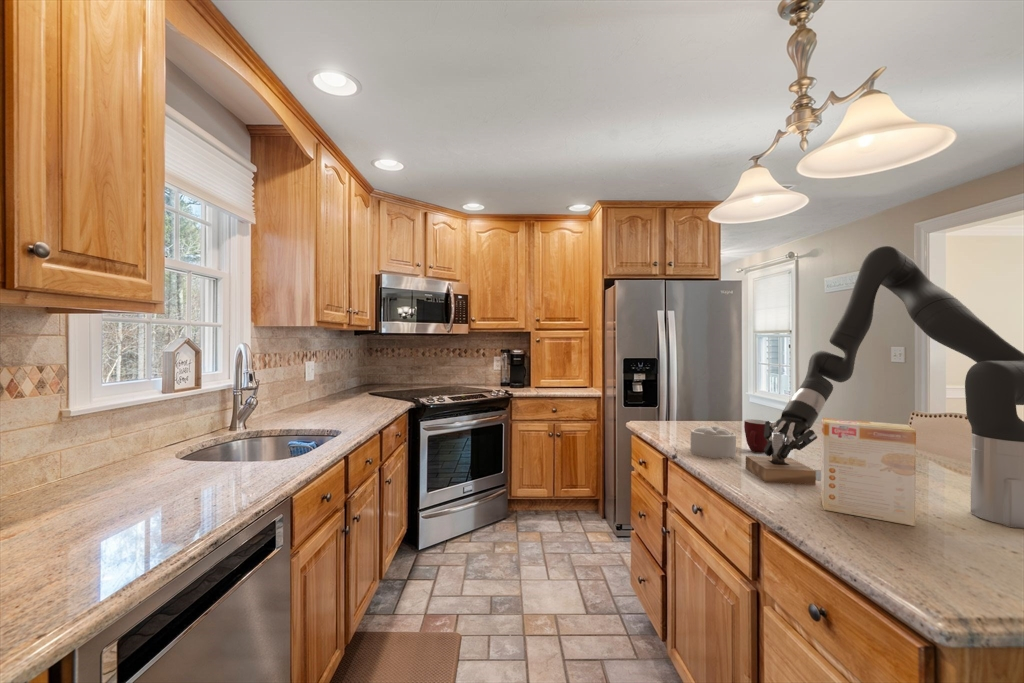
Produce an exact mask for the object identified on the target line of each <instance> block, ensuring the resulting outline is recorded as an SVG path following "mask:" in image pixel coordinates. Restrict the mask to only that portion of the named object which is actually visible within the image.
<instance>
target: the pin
mask: <svg viewBox="0 0 1024 683" xmlns="http://www.w3.org/2000/svg"><path fill="white" fill-rule="evenodd" d="M785 441H786V438H785V433H781V432H772V455H771V457H772V464H774V465H785V459H784V460H780V459H779V458H778V457H777V453H778V452H779V450H780V448H781V447H782V445H783V444H784V445H785Z"/></svg>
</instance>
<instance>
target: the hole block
mask: <svg viewBox="0 0 1024 683" xmlns="http://www.w3.org/2000/svg"><path fill="white" fill-rule="evenodd" d="M745 469H746V470H747V471H748V472H750V473H751V474H753V475H754V476H756V477H757V478H758V479H759V480H761V481H763V483H769V484H785V485H787V484H788V485H790V484H791V485H807V486H816V484H817V483H816V482H817V480H816V471H815V470H816V469H813V468H812V467H809V466H808V465H805V464H803V463H802V462H800V461H798V460H796V459H794V458H792V457H787V458H785V465H774V464H772V456H760V455H758V456H757V455H745Z"/></svg>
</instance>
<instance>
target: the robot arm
mask: <svg viewBox="0 0 1024 683" xmlns="http://www.w3.org/2000/svg"><path fill="white" fill-rule="evenodd" d="M880 286H883V287H884V288H886V289H887V290H889V291H890V292H892V293H893V295H895V296H896V297H897V298H899V299H900V300H901V301H902V303H903V304H904V307H905V308H906V311H907V314H908V315H909V317H910V318H911V320H912V321H913V322H914V323H915V324H916V325H917V326H918V328H920V329H921V331H922V332H924V334H926V335H927V336H928V337H929V338H930V339H932V340H933V341H935V342H937V343H939V344H940V345H942V346H945V347H946V348H948V349H951V350H953V351H955V352H958V353H959V354H962V355H964V356H965V357H967V358H969V359H971V360H972V361H974V364H973V365H972V366H971V367H970V368H969V369H968V371H967V372H966V375H965V378H964V397H965V412H966V418H967V420H968V423H969V424H970V428H971V445H970V446H971V447H970V448H971V449H970V450H971V451H970V453H971V454H970V458H971V459H970V514H972V515H974V516H976V517H978V518H981V519H983V520H986V521H989V522H993V523H995V524H996V523H997V524H1000V525H1004V526H1006V527H1010V528H1020V529H1024V420H1022V419H1021V418H1020V417H1019V415H1018V411H1017V406H1024V353H1023V352H1022V351H1021V350H1019V349H1018V348H1017V347H1015V346H1013V345H1012V344H1011V343H1009V342H1008V341H1007V340H1006V339H1004V338H1003V337H1001V336H1000V335H999V334H998V333H997V332H996V331H995V330H993V329H992V328H991V327H989V325H987V324H986V323H985V322H983V320H982V319H980V318H979V317H978V316H976V314H975V313H974V312H972V311H971V310H970V308H968V307H967V306H966V305H965V304H963V303H962V302H961V300H959V299H958V298H957V297H955V296H954V295H952V294H951V293H950V292H948V291H947V290H945V289H944V288H941V287H940V286H938V285H937V284H936V283H934V282H933V281H932V280H930V279H929V278H928V276H927V275H926V274H925V273H924V272H923V271H922V269H921V268H920V266H919V265H918V264H917V263H916V262H915V260H914V259H913V258H911V257H910V256H908V254H906V253H904V252H903V251H901V250H899V248H897V247H894V246H891V245H882V246H879V247H876V248H875V249H873V250H871V251H870V252H869V253H868V254H867V255H866V256H865V257H864V259H863V261H862V263H861V265H860V268H859V271H858V274H857V277H856V280H855V282H854V285H853V288H852V290H851V294H850V297H849V299H848V303H847V305H846V307H845V310H844V312H843V313H842V316H841V318H840V319H839V321H838V323H837V325H836V326H835V328H834V330H833V332H832V334H831V336H830V337H829V343H830V344H831V345H833V346H834V347H835V348H838V349H839V350H840V351H842V352H843V353H844V357H842V356H840V355H837V354H833V353H832V352H829V351H826V350H818V351H816V352H814V353H813V354H812V355H811V356H810V357H809V362H808V366H807V372H806V376H805V378H804V380H803V382H802V383H801V385H800V386H799V387H798V389H797V390H796V392H795V393H794V394H793V395H792V397H791V398H790V399H789V401H788V403H787V404H786V406H785V408H783V410H782V412H781V415H780V418H778V419H777V420H776V421H775V422H771V421H769V420H765V421H766V422H765V430H764V437H765V438H766V440H767V441H768V443H767V445H766V446H765V448H764V453H765V455H766V457H772V432H781V433H785V445H784V444H783V445H782V447H781V448H780V450H779V452H778V453H777V457H778V458H779V459H780V460H784V459H785V458H788V456H789V454H790V453H791V452H792V451H793V450H798V451H801V450H803V449H804V448H805V447H807V446H808V445H809V444H811V443H812V442H814V441H816V439H818V436H817V434H816V433H815V431H814V430H813V429H811V428H812V427H813V425H814V424H815V422H816V420H817V419H818V417H819V415H820V414H821V412H822V410H824V407H825V404H826V403H827V401H828V399H829V397H830V396H831V395H832V392H833V391H834V386H833V384H832V382H831V381H834V382H837V383H844V382H846V381H849V380H850V379H851V378H852V376H853V373H854V369H855V364H856V363H855V362H856V358H857V353H858V350H859V349H860V346H861V344H862V342H863V341H864V339H865V337H866V335H868V332H869V330H870V327H871V325H872V322H873V316H874V310H875V301H876V296H877V293H878V291H879V288H880ZM830 380H831V381H830ZM770 422H771V423H770Z"/></svg>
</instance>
